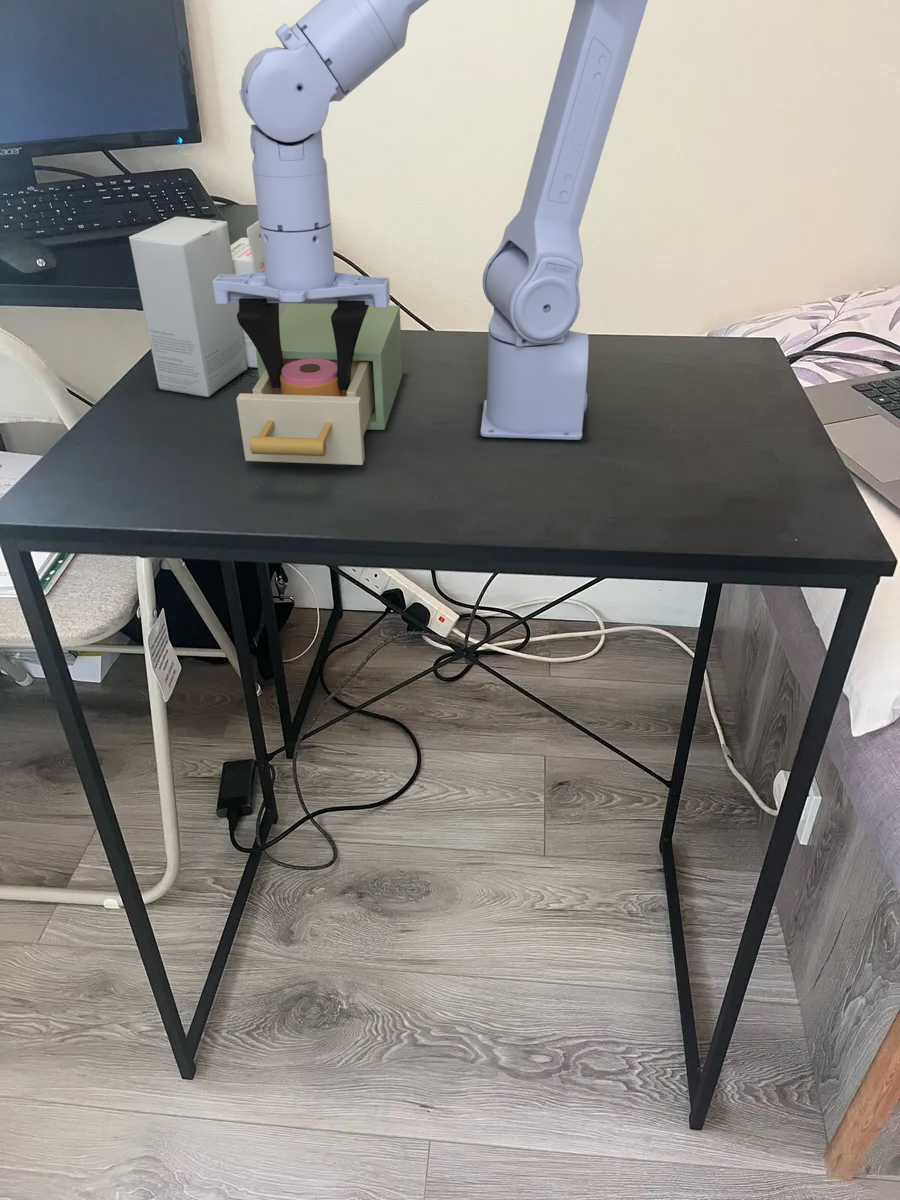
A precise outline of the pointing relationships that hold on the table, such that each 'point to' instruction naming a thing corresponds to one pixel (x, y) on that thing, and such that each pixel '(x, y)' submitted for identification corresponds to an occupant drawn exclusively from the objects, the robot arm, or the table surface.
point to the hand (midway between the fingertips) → (311, 385)
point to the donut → (310, 378)
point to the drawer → (308, 421)
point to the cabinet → (377, 341)
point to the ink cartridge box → (250, 261)
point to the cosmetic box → (188, 304)
